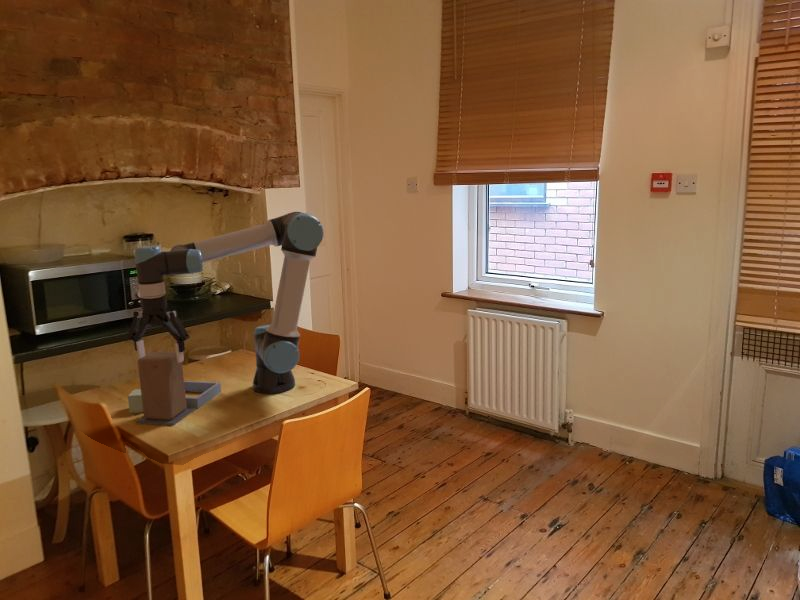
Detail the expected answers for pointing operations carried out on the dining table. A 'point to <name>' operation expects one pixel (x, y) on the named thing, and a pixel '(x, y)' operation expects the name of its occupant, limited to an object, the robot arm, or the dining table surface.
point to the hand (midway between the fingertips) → (161, 361)
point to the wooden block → (161, 385)
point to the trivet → (166, 422)
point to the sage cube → (135, 401)
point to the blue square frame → (206, 387)
